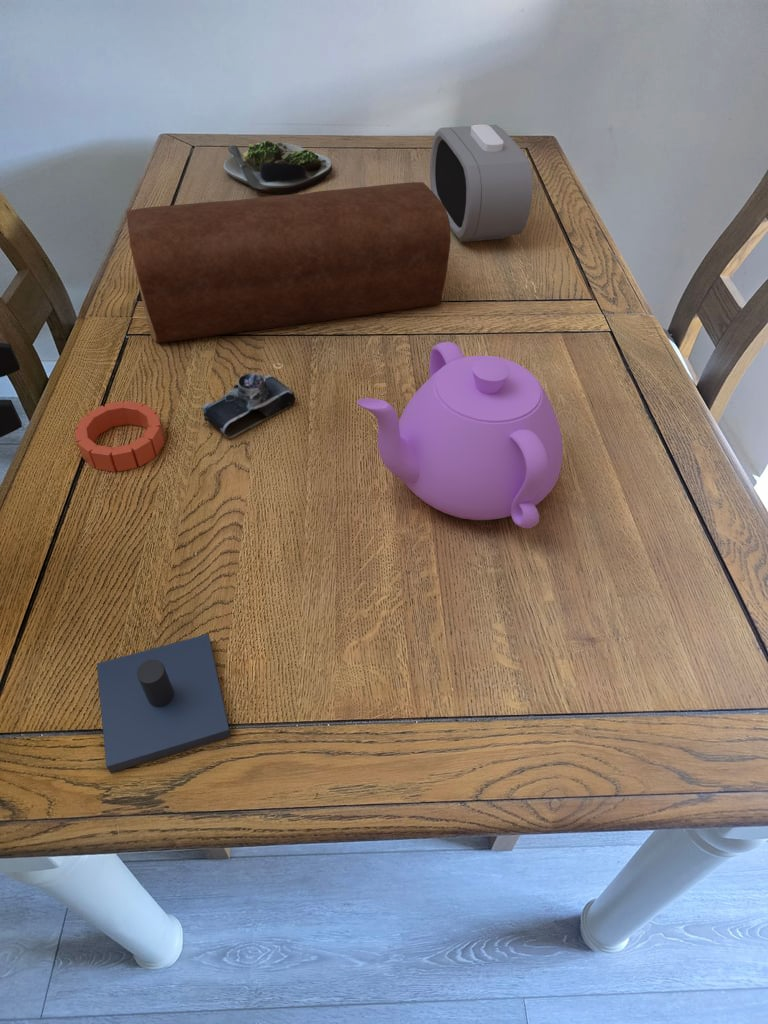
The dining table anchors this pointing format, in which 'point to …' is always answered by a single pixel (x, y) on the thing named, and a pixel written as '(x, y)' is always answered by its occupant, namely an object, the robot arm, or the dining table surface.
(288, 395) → the camera
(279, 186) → the salad plate
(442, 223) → the bread
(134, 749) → the ring stacking peg
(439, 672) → the dining table surface
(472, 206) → the alarm clock
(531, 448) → the teapot
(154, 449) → the segmented red ring
